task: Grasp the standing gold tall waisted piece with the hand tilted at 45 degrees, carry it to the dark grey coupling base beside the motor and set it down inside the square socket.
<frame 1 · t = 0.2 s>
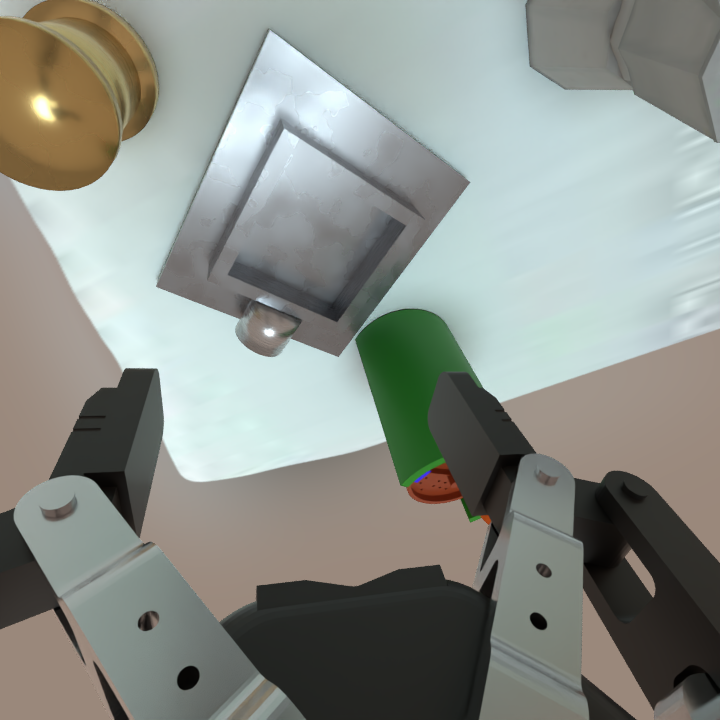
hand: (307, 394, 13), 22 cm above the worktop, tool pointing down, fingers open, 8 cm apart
gold tall waisted piece: (95, 72, 24), on the worktop
coffee maker: (598, 17, 28), on the worktop
coupling base: (311, 228, 33), on the worktop
motor: (404, 346, 43), on the worktop
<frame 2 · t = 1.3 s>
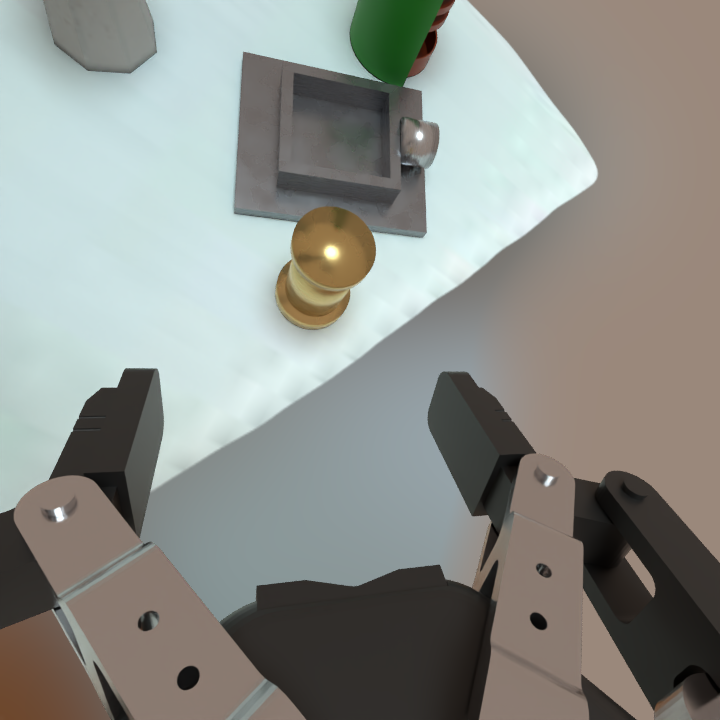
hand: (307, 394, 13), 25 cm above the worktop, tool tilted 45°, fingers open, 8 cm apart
gold tall waisted piece: (311, 295, 40), on the worktop
coffee maker: (105, 23, 39), on the worktop
coupling base: (334, 150, 43), on the worktop
motor: (389, 46, 47), on the worktop
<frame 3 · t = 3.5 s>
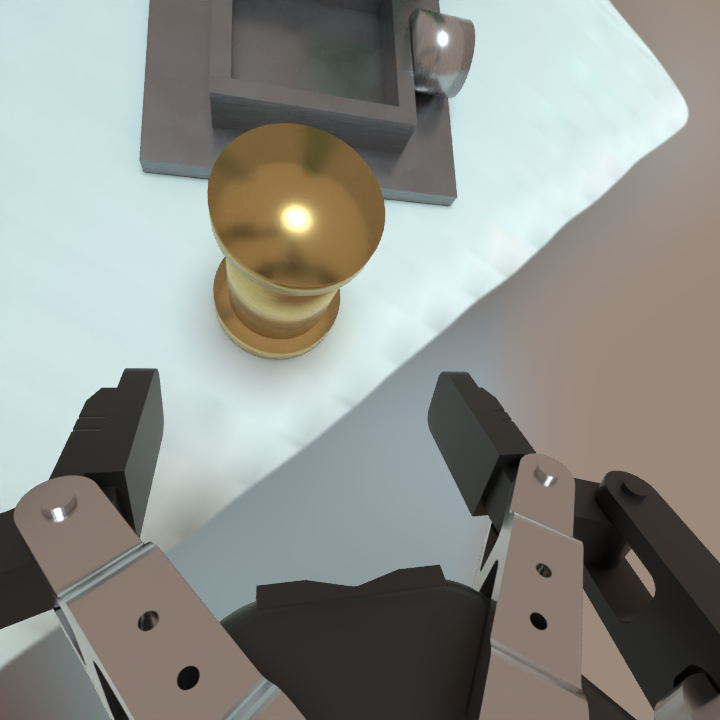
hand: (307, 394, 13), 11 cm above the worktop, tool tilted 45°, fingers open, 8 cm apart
gold tall waisted piece: (276, 302, 24), on the worktop
coupling base: (308, 74, 27), on the worktop
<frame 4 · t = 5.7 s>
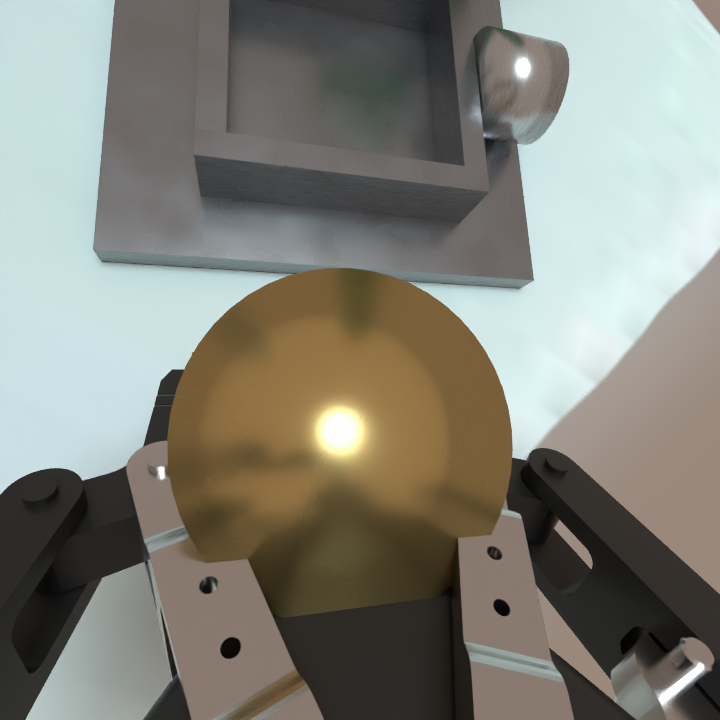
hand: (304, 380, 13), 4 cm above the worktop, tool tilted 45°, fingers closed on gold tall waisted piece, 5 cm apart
gold tall waisted piece: (291, 444, 17), on the worktop, touching gripper
coupling base: (332, 113, 20), on the worktop
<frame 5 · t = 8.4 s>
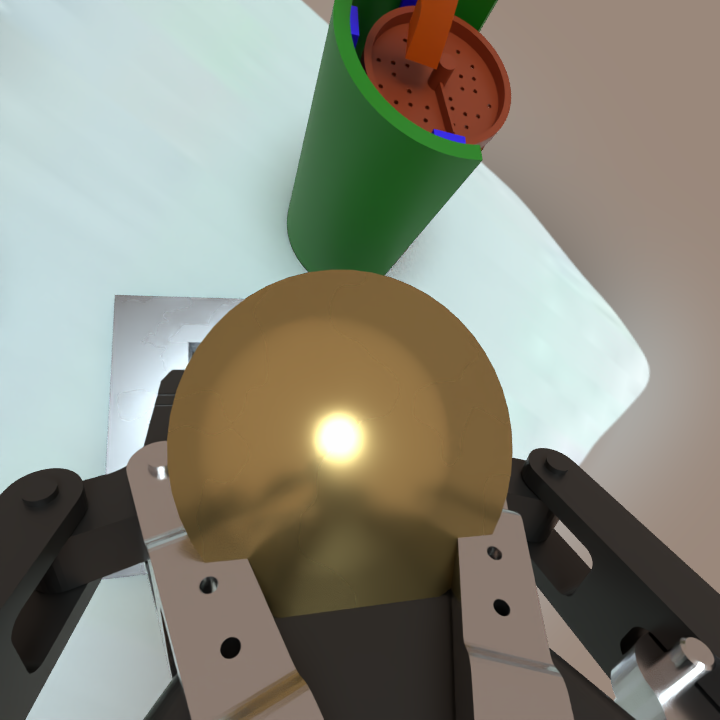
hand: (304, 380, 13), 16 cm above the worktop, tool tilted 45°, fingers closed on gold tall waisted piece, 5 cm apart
gold tall waisted piece: (291, 445, 17), point 12 cm above the worktop, touching gripper
coupling base: (268, 423, 28), on the worktop
motor: (347, 230, 33), on the worktop
when the fingers open (6 cm above the worktop, at t = 10.8 s): gold tall waisted piece drops 1 cm, resting on coupling base.
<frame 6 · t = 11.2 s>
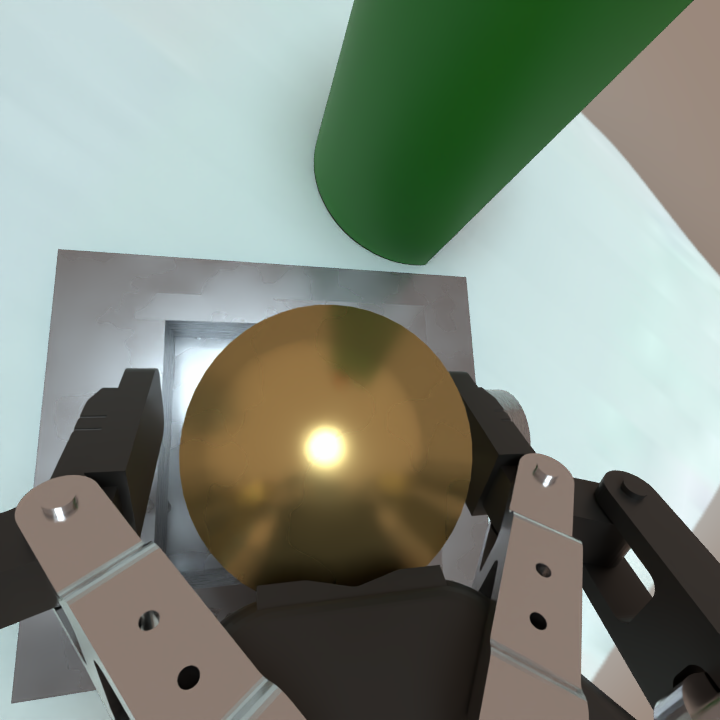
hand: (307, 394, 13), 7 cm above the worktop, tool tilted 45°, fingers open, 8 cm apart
gold tall waisted piece: (287, 449, 18), point 1 cm above the worktop, touching coupling base
coupling base: (284, 445, 19), on the worktop
motor: (395, 177, 24), on the worktop
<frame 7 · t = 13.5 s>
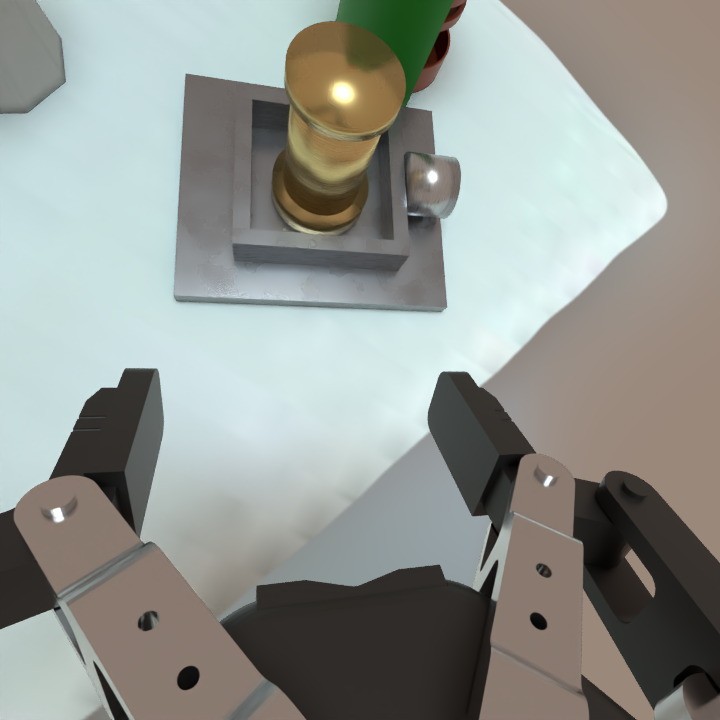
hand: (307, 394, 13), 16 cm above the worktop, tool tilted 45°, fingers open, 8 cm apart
gold tall waisted piece: (318, 194, 30), point 1 cm above the worktop, touching coupling base
coupling base: (316, 200, 31), on the worktop
motor: (386, 53, 36), on the worktop
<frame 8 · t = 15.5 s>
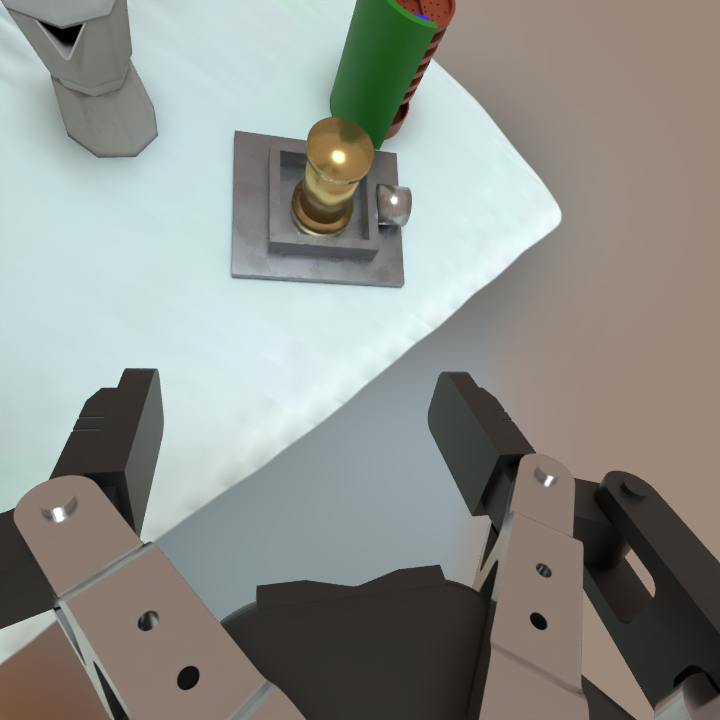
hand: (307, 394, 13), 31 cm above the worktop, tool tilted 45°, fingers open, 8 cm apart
gold tall waisted piece: (321, 210, 47), point 1 cm above the worktop, touching coupling base
coffee maker: (111, 112, 44), on the worktop
coupling base: (319, 213, 48), on the worktop
motor: (366, 112, 52), on the worktop
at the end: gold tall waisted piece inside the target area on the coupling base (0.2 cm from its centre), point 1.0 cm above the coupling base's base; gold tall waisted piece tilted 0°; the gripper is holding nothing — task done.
